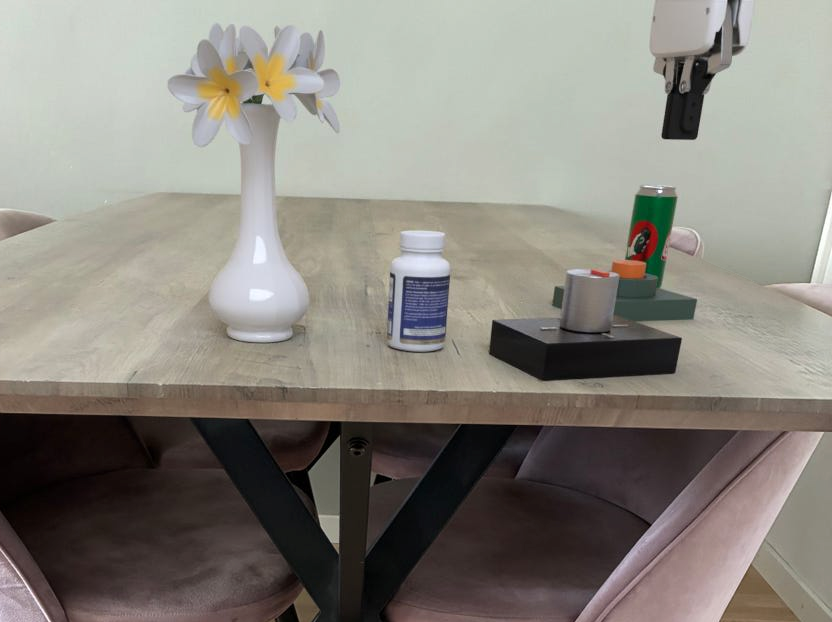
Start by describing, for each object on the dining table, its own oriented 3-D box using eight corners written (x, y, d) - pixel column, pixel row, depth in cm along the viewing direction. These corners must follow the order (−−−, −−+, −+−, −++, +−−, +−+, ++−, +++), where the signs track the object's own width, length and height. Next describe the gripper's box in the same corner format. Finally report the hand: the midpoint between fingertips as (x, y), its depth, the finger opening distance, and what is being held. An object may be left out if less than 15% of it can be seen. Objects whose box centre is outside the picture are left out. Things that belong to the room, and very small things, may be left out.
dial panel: (611, 348, 90) (617, 313, 89) (675, 373, 82) (683, 335, 81) (488, 353, 86) (492, 317, 85) (542, 380, 78) (547, 341, 77)
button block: (640, 303, 113) (647, 267, 111) (693, 319, 105) (701, 281, 103) (551, 306, 109) (556, 269, 107) (599, 323, 101) (605, 283, 99)
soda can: (665, 293, 120) (684, 188, 114) (625, 292, 120) (643, 187, 114) (654, 286, 124) (672, 185, 118) (615, 285, 124) (631, 184, 118)
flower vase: (167, 355, 81) (146, 6, 69) (217, 315, 97) (207, 26, 85) (318, 364, 80) (323, 11, 68) (343, 322, 96) (351, 30, 84)
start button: (631, 276, 107) (634, 259, 106) (650, 281, 104) (653, 264, 103) (603, 276, 106) (606, 259, 105) (621, 281, 103) (624, 264, 102)
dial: (550, 323, 84) (557, 265, 82) (594, 322, 85) (602, 265, 83) (575, 333, 80) (584, 273, 78) (620, 332, 82) (630, 272, 79)
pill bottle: (456, 347, 88) (466, 234, 83) (417, 355, 85) (425, 237, 80) (413, 337, 91) (420, 227, 87) (374, 344, 88) (379, 230, 83)
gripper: (805, -98, 82) (759, 141, 91) (697, -69, 95) (665, 138, 104) (734, -106, 80) (693, 140, 89) (633, -75, 93) (606, 138, 101)
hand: (678, 139), depth 96 cm, fingers closed
